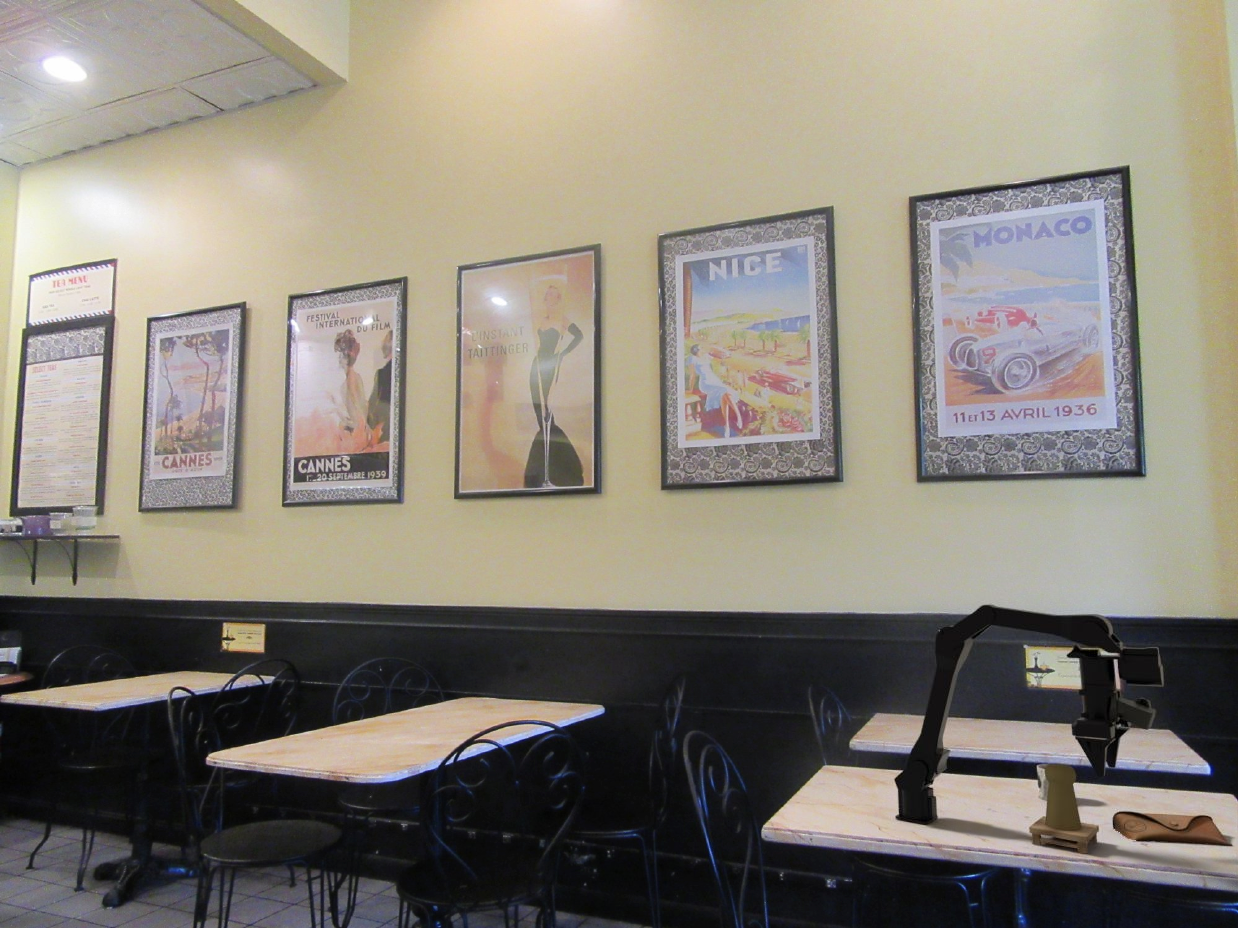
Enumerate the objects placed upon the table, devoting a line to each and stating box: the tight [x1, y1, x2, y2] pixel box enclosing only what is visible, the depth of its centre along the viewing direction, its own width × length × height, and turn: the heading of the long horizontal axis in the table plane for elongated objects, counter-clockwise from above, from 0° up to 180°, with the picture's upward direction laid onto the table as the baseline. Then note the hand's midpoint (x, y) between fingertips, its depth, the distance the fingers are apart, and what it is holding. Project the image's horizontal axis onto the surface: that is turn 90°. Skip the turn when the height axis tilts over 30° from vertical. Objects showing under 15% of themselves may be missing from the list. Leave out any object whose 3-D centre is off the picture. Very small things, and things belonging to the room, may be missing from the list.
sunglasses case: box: [1112, 810, 1233, 846], centre depth 164 cm, size 18×7×7 cm
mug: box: [1036, 763, 1050, 802], centre depth 191 cm, size 10×7×7 cm, turn 136°
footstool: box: [1028, 815, 1100, 855], centre depth 160 cm, size 10×10×3 cm
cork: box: [1045, 762, 1082, 831], centre depth 161 cm, size 6×6×11 cm
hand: (1106, 771), depth 157 cm, fingers open, 9 cm apart
